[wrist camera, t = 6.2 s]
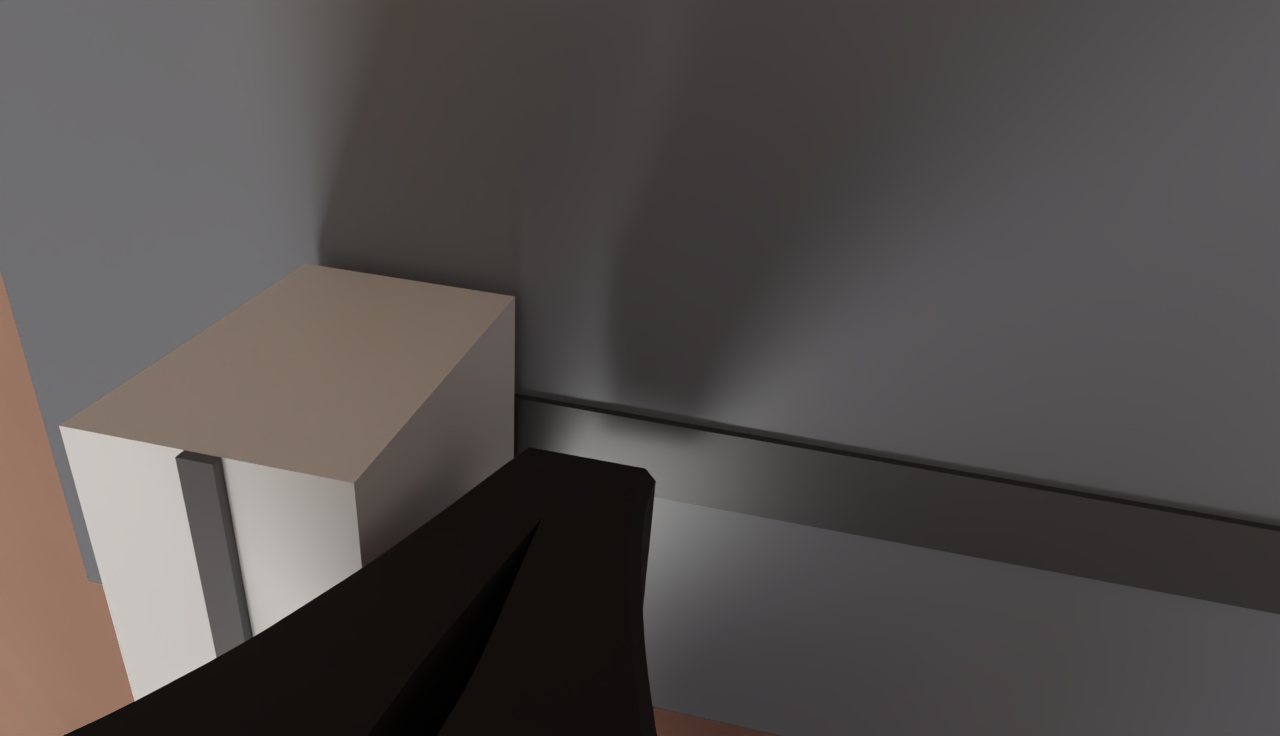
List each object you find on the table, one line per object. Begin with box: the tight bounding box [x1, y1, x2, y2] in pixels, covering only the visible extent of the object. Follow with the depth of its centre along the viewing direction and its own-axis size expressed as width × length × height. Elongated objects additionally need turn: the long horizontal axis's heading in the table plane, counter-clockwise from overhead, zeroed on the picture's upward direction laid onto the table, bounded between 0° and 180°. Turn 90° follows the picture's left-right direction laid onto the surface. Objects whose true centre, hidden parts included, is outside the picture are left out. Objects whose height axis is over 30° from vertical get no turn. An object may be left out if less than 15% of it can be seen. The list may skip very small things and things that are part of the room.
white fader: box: [59, 264, 515, 701], centre depth 9 cm, size 4×2×4 cm, turn 176°
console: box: [0, 0, 1280, 736], centre depth 9 cm, size 15×20×1 cm
